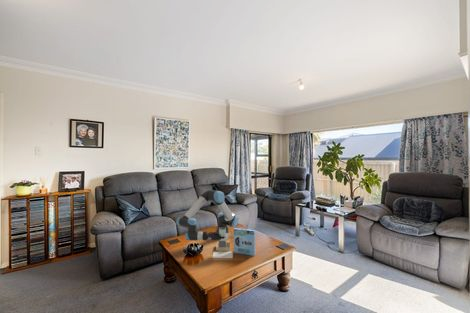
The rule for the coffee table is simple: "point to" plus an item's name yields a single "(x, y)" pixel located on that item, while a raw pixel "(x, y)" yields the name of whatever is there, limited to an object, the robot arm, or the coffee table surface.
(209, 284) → the coffee table surface
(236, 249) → the gum box
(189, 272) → the coffee table surface
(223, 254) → the board
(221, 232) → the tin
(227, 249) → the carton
